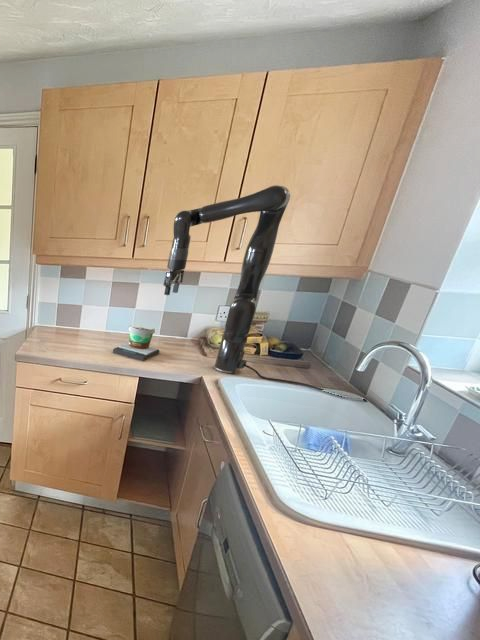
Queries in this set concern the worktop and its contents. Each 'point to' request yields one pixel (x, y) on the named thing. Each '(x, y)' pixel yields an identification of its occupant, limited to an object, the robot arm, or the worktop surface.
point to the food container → (140, 337)
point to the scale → (136, 352)
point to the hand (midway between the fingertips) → (170, 293)
